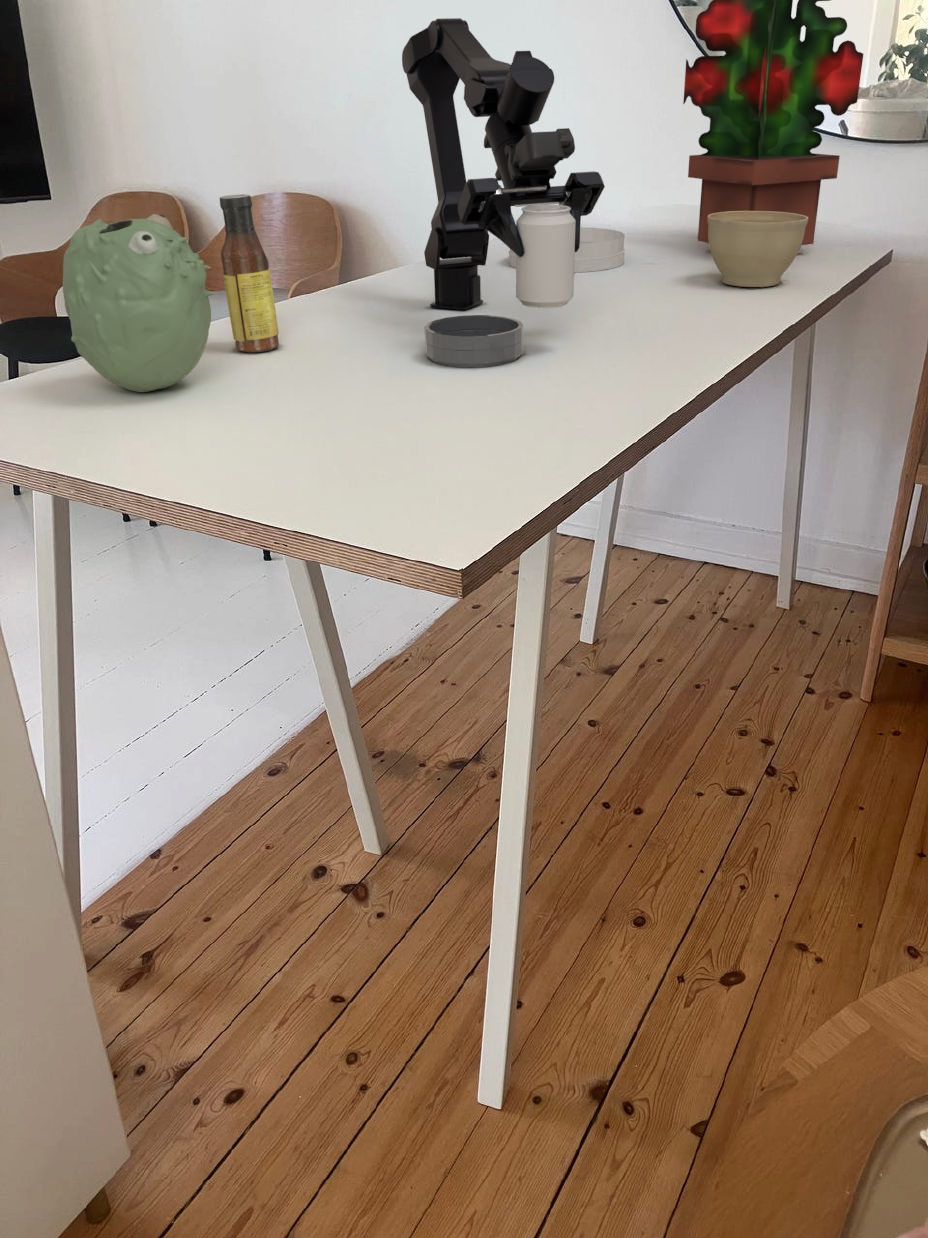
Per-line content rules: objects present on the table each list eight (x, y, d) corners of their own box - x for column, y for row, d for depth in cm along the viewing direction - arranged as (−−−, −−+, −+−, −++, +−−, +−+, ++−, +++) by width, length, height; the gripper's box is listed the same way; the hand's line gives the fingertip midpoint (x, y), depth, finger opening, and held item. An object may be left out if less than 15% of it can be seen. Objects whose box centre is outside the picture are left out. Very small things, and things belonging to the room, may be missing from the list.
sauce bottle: (288, 344, 149) (272, 192, 139) (266, 355, 143) (248, 198, 134) (246, 342, 151) (228, 192, 141) (224, 352, 145) (203, 197, 136)
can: (516, 297, 143) (516, 202, 137) (572, 296, 142) (574, 201, 137) (515, 309, 136) (516, 210, 131) (574, 309, 136) (577, 209, 130)
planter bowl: (795, 294, 171) (804, 223, 166) (695, 290, 176) (700, 220, 171) (804, 276, 185) (812, 210, 180) (710, 273, 190) (715, 208, 185)
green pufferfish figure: (120, 368, 139) (91, 205, 129) (249, 376, 134) (229, 207, 124) (44, 401, 126) (6, 223, 116) (184, 412, 120) (156, 226, 111)
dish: (643, 257, 207) (644, 230, 204) (592, 276, 190) (593, 246, 188) (543, 250, 217) (543, 224, 215) (487, 267, 201) (486, 239, 199)
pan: (408, 362, 138) (406, 331, 136) (455, 341, 148) (454, 312, 146) (495, 372, 133) (495, 340, 131) (538, 349, 142) (539, 319, 141)
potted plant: (673, 250, 214) (690, -9, 193) (762, 240, 222) (787, -9, 201) (743, 265, 196) (770, -18, 175) (836, 255, 204) (872, -18, 183)
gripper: (463, 107, 129) (499, 215, 125) (601, 102, 134) (638, 204, 131) (443, 172, 139) (475, 273, 135) (571, 164, 145) (606, 261, 141)
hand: (549, 252), depth 135 cm, fingers closed on can, 7 cm apart
